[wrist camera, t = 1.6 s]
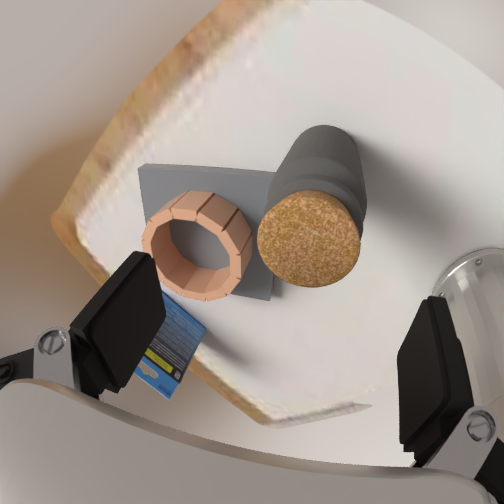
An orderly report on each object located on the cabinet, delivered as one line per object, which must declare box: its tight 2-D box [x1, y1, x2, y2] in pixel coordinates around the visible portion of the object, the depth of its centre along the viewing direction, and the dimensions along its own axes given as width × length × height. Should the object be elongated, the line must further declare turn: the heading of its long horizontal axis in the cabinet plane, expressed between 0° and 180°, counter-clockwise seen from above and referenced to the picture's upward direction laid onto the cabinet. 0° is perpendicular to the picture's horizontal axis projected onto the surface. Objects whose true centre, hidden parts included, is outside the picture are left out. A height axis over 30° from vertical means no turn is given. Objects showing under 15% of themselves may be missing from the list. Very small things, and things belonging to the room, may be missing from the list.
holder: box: [138, 164, 276, 301], centre depth 31 cm, size 14×14×6 cm
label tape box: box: [133, 292, 206, 400], centre depth 37 cm, size 9×4×12 cm, turn 47°
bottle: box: [257, 125, 367, 288], centre depth 20 cm, size 6×6×15 cm
